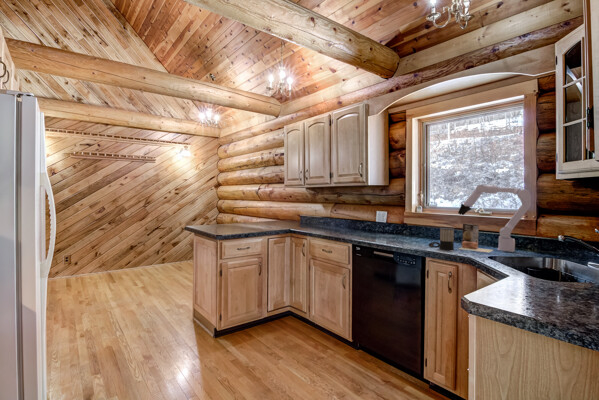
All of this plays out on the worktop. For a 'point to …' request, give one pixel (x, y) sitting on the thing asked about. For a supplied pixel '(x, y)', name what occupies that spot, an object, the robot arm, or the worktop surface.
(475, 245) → the block
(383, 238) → the worktop surface
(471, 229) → the coffee box
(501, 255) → the worktop surface
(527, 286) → the worktop surface
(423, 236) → the worktop surface
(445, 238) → the milk frother
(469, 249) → the mat
